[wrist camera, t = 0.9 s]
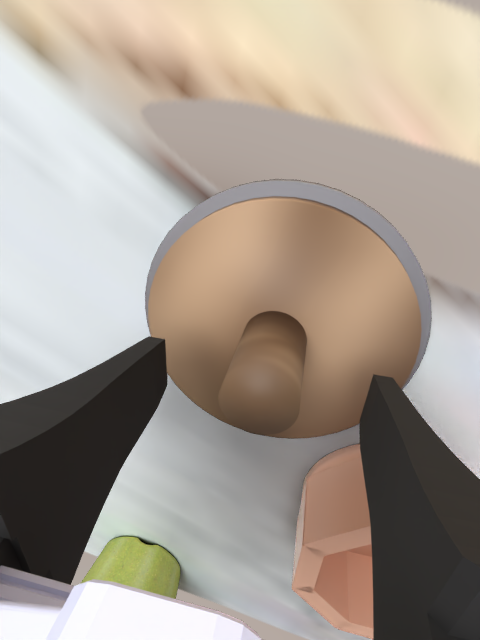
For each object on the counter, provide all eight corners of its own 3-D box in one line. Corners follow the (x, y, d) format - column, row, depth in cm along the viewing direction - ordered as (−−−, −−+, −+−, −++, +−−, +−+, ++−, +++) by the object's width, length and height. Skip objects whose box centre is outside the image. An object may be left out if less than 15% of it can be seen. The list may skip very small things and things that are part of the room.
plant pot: (150, 508, 25) (75, 672, 18) (226, 587, 28) (189, 757, 21) (65, 530, 29) (-26, 672, 22) (139, 597, 32) (82, 743, 25)
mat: (476, 197, 12) (481, 200, 12) (385, 447, 18) (386, 455, 18) (140, 164, 14) (134, 166, 14) (156, 401, 20) (152, 408, 20)
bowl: (510, 464, 17) (562, 564, 13) (446, 568, 22) (471, 666, 18) (315, 426, 19) (311, 507, 15) (292, 531, 23) (284, 614, 19)
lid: (459, 214, 12) (523, 264, 8) (378, 446, 18) (392, 545, 14) (148, 181, 14) (72, 210, 10) (161, 402, 20) (115, 479, 15)
